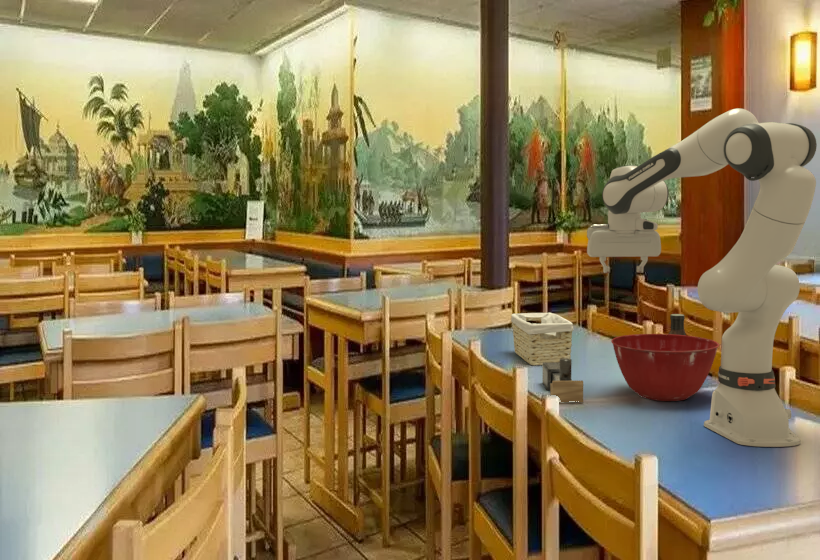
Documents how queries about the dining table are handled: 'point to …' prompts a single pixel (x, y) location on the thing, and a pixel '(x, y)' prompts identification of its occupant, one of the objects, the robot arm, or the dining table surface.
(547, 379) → the sleeve
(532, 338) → the storage basket
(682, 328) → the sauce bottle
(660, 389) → the mixing bowl
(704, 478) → the dining table surface
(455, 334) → the dining table surface
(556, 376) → the dark grey upright block
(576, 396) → the brown wooden block
